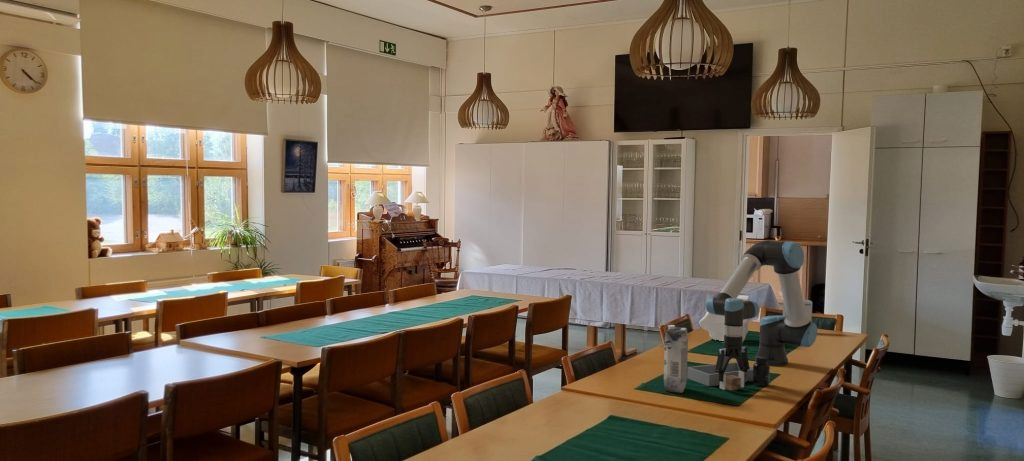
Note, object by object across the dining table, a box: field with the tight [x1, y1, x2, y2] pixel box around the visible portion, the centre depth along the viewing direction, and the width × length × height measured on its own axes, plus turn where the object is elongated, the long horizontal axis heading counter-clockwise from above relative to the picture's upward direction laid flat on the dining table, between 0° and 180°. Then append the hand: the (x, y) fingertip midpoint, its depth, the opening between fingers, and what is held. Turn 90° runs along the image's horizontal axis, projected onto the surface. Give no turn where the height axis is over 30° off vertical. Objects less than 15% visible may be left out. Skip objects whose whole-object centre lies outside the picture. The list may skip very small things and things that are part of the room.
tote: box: [687, 361, 753, 387], centre depth 320 cm, size 28×15×5 cm, turn 114°
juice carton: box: [663, 324, 689, 394], centre depth 301 cm, size 9×10×27 cm
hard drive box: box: [782, 299, 813, 322], centre depth 437 cm, size 16×8×20 cm, turn 81°
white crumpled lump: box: [698, 294, 750, 343], centre depth 411 cm, size 21×27×26 cm
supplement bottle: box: [752, 356, 771, 388], centre depth 311 cm, size 7×7×12 cm
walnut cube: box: [725, 375, 742, 391], centre depth 305 cm, size 5×5×5 cm
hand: (731, 387), depth 305 cm, fingers open, 9 cm apart
